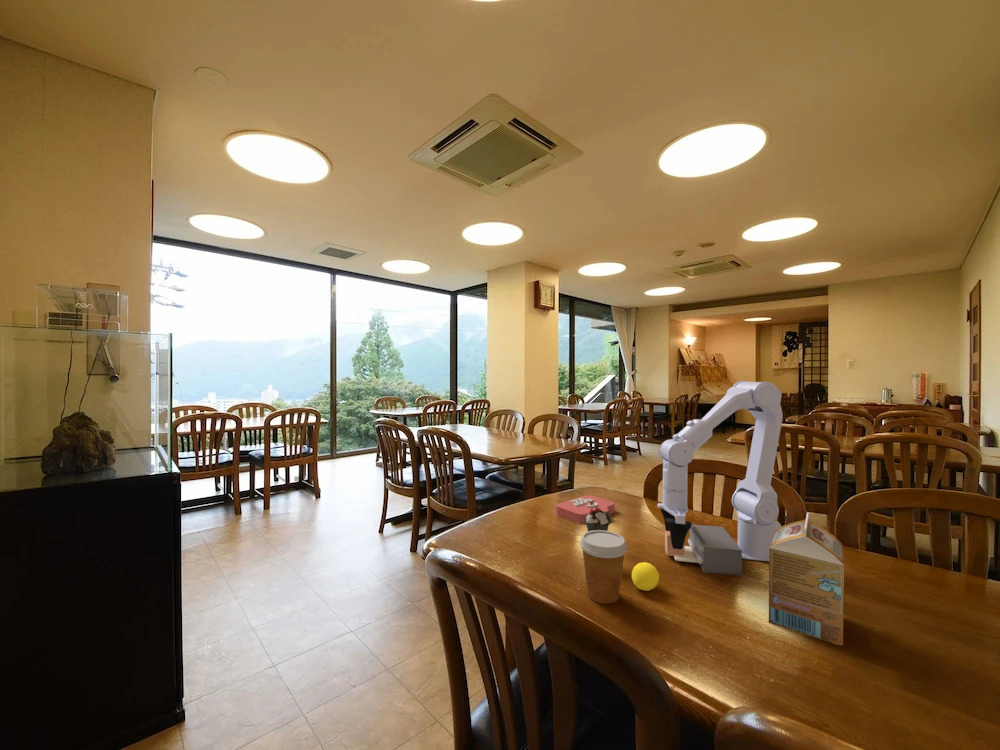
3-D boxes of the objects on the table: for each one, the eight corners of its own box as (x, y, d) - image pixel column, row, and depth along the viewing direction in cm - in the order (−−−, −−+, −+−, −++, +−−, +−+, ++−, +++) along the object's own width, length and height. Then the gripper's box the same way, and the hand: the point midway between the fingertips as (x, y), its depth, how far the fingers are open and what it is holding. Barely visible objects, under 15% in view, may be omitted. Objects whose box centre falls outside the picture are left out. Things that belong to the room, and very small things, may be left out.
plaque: (589, 516, 121) (553, 503, 132) (589, 528, 121) (553, 515, 132) (624, 503, 132) (588, 492, 144) (624, 515, 132) (588, 503, 144)
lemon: (649, 601, 83) (647, 576, 83) (626, 590, 87) (624, 567, 87) (666, 585, 88) (664, 561, 87) (643, 575, 92) (641, 553, 91)
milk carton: (774, 597, 84) (775, 506, 83) (841, 617, 77) (842, 518, 77) (768, 622, 75) (769, 521, 75) (842, 647, 69) (844, 536, 68)
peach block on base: (719, 551, 103) (719, 531, 103) (730, 565, 95) (730, 544, 95) (663, 545, 106) (663, 527, 106) (668, 559, 98) (669, 539, 98)
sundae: (580, 564, 98) (580, 502, 98) (587, 553, 104) (587, 495, 104) (607, 570, 95) (607, 507, 95) (613, 558, 101) (614, 498, 101)
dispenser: (722, 549, 106) (722, 526, 106) (741, 576, 92) (741, 550, 92) (687, 546, 108) (687, 524, 108) (700, 572, 94) (700, 546, 94)
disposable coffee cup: (621, 584, 89) (621, 530, 89) (631, 610, 79) (631, 549, 79) (577, 582, 90) (577, 528, 90) (582, 607, 80) (582, 547, 80)
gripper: (653, 479, 110) (653, 529, 110) (662, 495, 95) (662, 552, 96) (681, 481, 108) (681, 531, 108) (695, 498, 94) (694, 556, 94)
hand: (674, 541), depth 102 cm, fingers open, 7 cm apart
